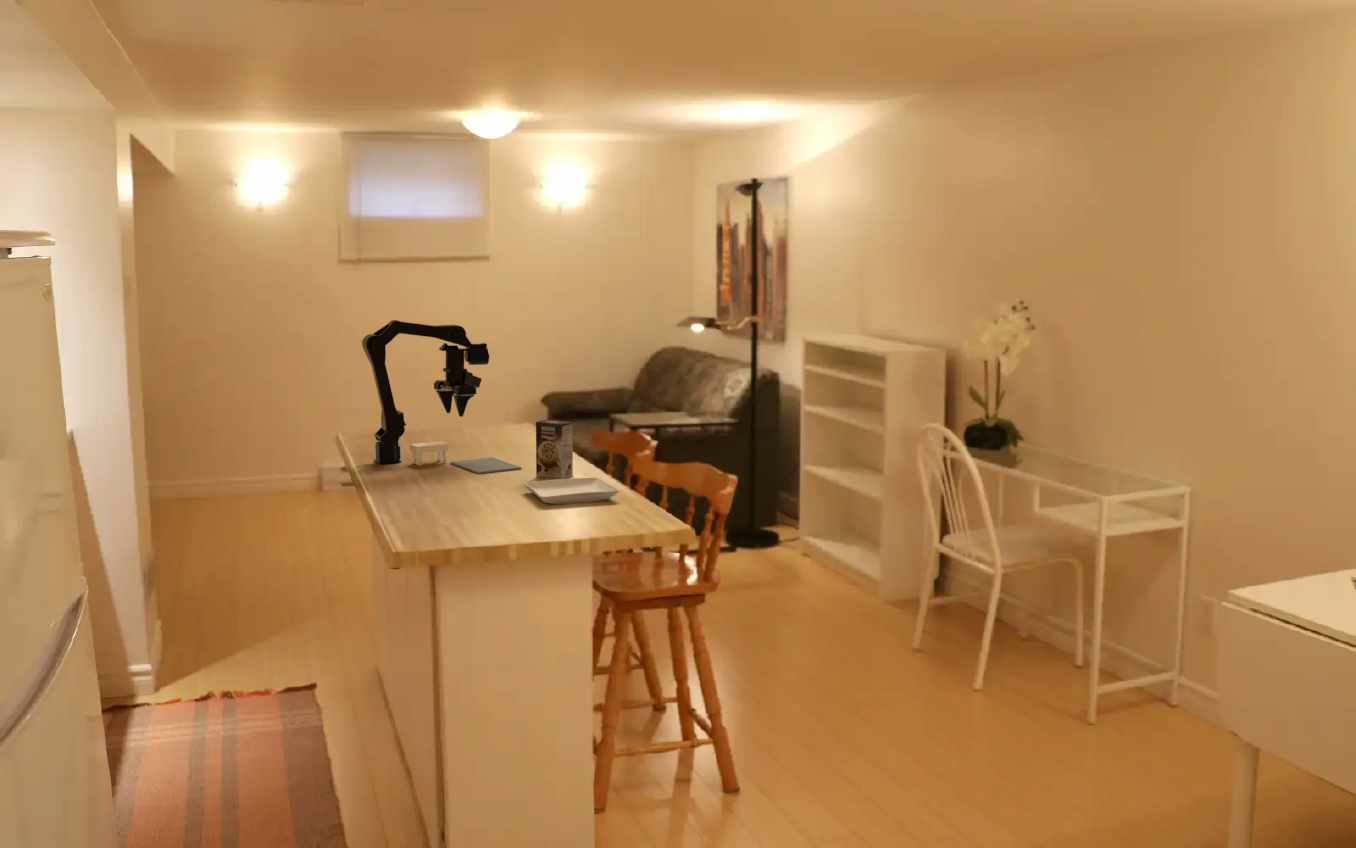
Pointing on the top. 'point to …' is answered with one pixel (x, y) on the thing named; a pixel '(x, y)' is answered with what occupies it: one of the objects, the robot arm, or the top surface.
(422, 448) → the footstool
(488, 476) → the top surface
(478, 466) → the mat
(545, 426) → the coffee box
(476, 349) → the robot arm
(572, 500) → the salad plate
